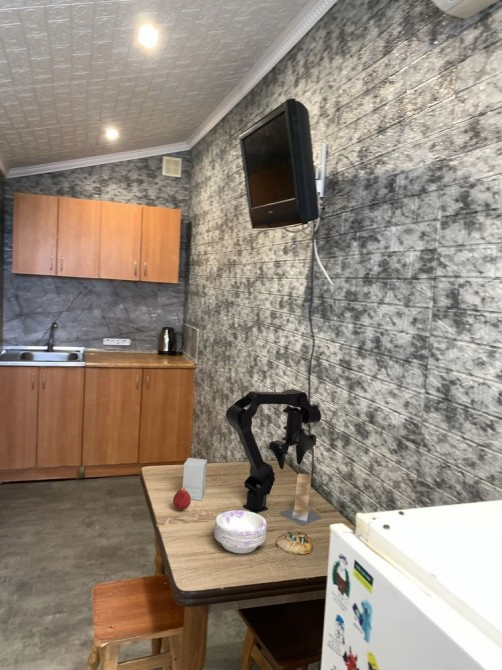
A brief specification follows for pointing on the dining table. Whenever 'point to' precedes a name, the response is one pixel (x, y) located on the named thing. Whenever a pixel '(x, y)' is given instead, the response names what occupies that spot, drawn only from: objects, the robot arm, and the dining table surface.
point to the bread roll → (295, 543)
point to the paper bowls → (240, 530)
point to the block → (302, 497)
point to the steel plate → (288, 514)
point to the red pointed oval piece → (182, 499)
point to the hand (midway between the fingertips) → (290, 466)
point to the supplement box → (195, 477)
